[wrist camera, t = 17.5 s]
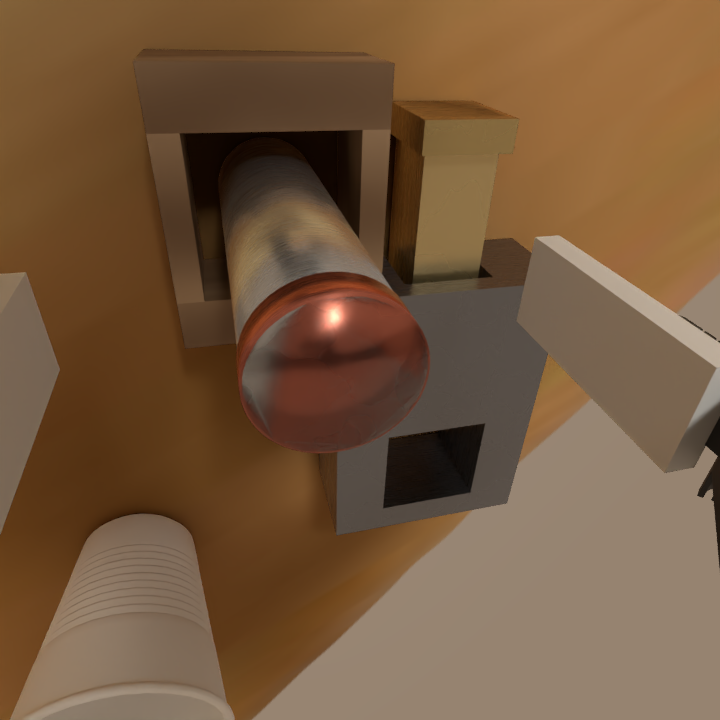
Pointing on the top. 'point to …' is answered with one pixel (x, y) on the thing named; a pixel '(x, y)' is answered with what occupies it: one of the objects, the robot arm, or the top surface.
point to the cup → (129, 633)
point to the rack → (259, 114)
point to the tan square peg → (443, 186)
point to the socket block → (450, 404)
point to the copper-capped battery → (311, 310)
